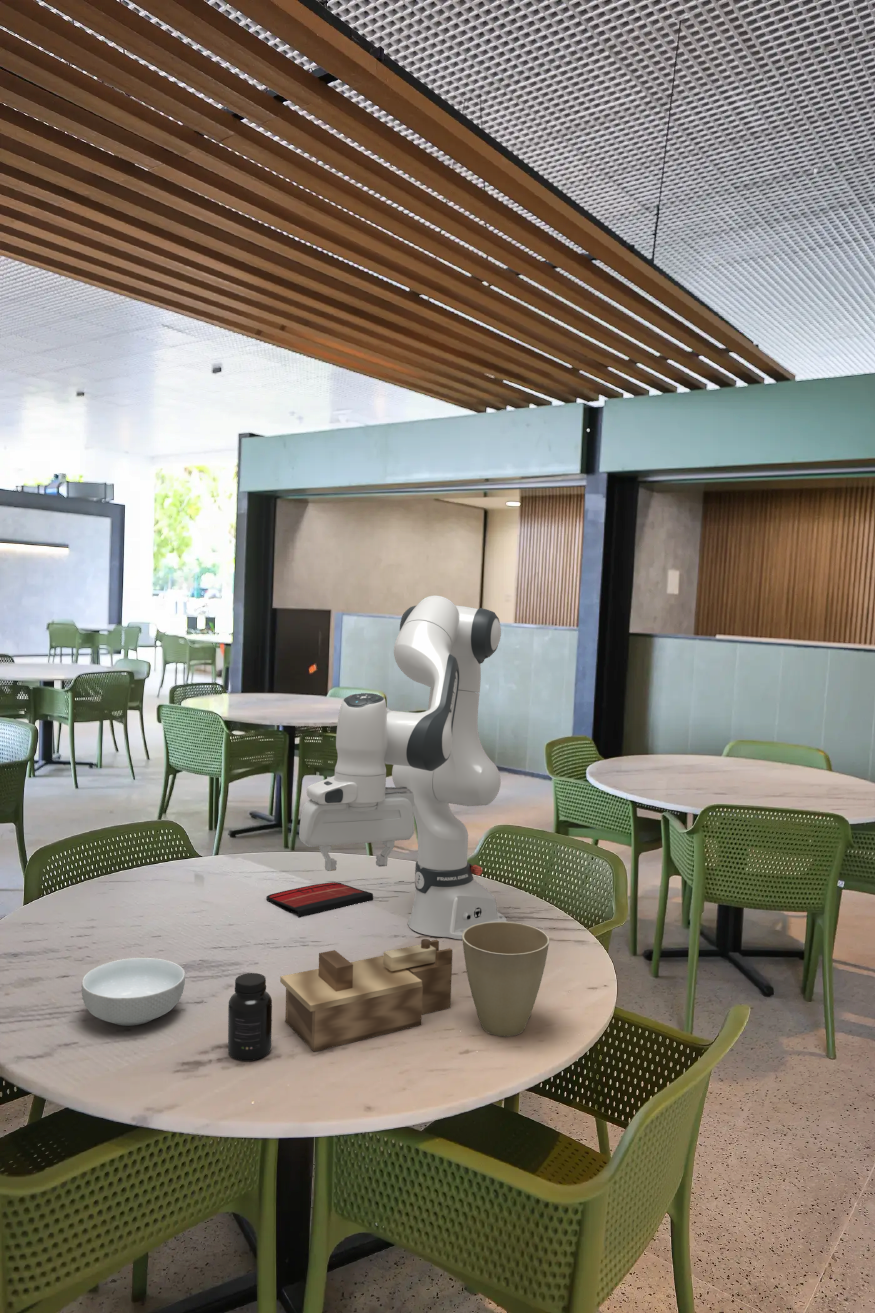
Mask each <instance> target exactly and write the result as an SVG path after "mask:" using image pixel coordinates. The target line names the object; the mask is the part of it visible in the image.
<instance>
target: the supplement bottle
mask: <svg viewBox="0 0 875 1313" xmlns="http://www.w3.org/2000/svg"><path fill="white" fill-rule="evenodd" d="M266 979H267V978H266V977H265V975H263V974H261V973H257V972H256V973H255V972H248V973H243V974H240V975H238V976H237V977H235V980H234V993H233V994H232V995H231V996H230V998H229V1000H228V1009H227V1010H228V1011H227V1012H228V1013H227V1014H228V1016H227V1017H228V1018H227V1049H228V1054H229V1055H230V1057H231V1058H233V1059H236V1060H238V1061H244V1062H246V1061H247V1062H248V1061H249V1062H251V1061H257V1060H260V1059H262V1058H264V1057H266V1056H267V1055H268V1054H269V1053H270V1051H271V1049H272V1028H273V1026H272V1022H273V1018H272V1016H273V1013H272V1012H273V1005H272V1003H273V1000H272V997H271V995H270V993H269V992H267V985H266V984H267V980H266Z"/></svg>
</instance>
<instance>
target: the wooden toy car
mask: <svg viewBox="0 0 875 1313" xmlns="http://www.w3.org/2000/svg"><path fill="white" fill-rule="evenodd" d="M430 941H431V940H430V939H427V938H422V939H421V940H420V944H417V945H412V946H411V945H410V946H406V947H402V948H401V947H400V948H396V949H391V950H386V951H383V955H382V956H383V965H384V966H385V967H386V968H388V969H389V970H390V971H395V970H400V969H405V968H409V967H414V966H419V965H424V964H428V963H433V962H435V960H436V948H434V947H433V946H431V945H430Z"/></svg>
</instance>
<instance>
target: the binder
mask: <svg viewBox="0 0 875 1313" xmlns="http://www.w3.org/2000/svg"><path fill="white" fill-rule="evenodd" d="M265 900H267V901H268V902H269V903H271V904H273V905H274V906H276V907H278V908H279V909H281V910H283V911H285V912H286V913H289V914H292V913H293V912H294V913H298V915H297V916H298V918H299V919H300V918H304V917H308V916H312V915H317V914H320V913H324V912H329V911H334V910H337V909H342V908H345V907H346V906H347V907H350V905H351V906H355V905H358V903H360V904H363V902H364V903H367V901H368V902H372V901H373V900H374V894H373V893H372V892H370V891H366V890H363V889H360V888H355V887H353V886H351V885H348V884H347V885H346V884H344V883H341V882H339V881H338V882H336V881H334V882H333V881H332V882H325V883H317V884H311V885H306V886H301V887H298V888H292V889H287V890H282V891H279V892H276V893H270V894H268V895H267V896H266V899H265ZM354 904H355V905H354Z"/></svg>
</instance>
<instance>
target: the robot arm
mask: <svg viewBox="0 0 875 1313" xmlns="http://www.w3.org/2000/svg"><path fill="white" fill-rule="evenodd" d="M400 618H401V619H400V624H399V632H398V634H397V637H396V639H395V642H394V646H393V657H394V660H395V662H396V665H397V666H398V668H399V670H400V671H401V672H402V673H403V674H404V676H406V677H407V678H409V679H410V680H412V681H414V682H415V683H419V684H421V685H424V686H427V687H429V688H430V689H429V697H428V698H429V699H428V707H427V710H426V711H422V712H410V711H409V712H408V711H400V710H399V711H398V710H394V709H393V710H392V709H391V710H390V709H388V708H387V703H386V699H385V697H384V696H382V695H381V694H377V693H373V692H372V693H371V692H369V693H368V692H361V693H355V694H350V695H348V696H346V697H344V698H343V699H342V701H341V704H340V709H339V713H338V718H337V725H336V726H337V727H336V736H335V748H336V752H337V761H336V764H335V766H334V775H333V776H330V777H328V778H325V779H323V780H321V781H318V782H317V781H316V782H315V783H312V784H310V785H308V786H307V787H306V796H307V798H309V799H308V800H307V801H305V803H304V804H303V806H302V809H301V814H300V820H299V834H298V837H299V840H300V842H302V844H304V845H305V846H307V847H308V848H315V847H319V848H318V850H319V852H320V854H322V857H323V859H324V868H325V871H327V872H334V871H337V864H338V863H337V862H338V861H337V860H336V859H335V858H333V857H332V858H331V855H330V854H329V852H332V846H340V845H341V846H342V845H343V846H344V845H354V844H367V843H368V844H369V843H380V842H381V844H382V845H383V846H384V847H383V848H382V851H381V852H380V854H376V855H375V859H376V860H375V865H376V866H377V867H378V868H381V867H387V866H388V861H389V860H388V859H389V858H388V857H389V856H390V854H391V853H392V852H393V850H394V849H395V841H409V840H411V839H412V837H413V836H414V834H415V824H416V830H417V860H416V862H415V867H414V868H415V870H414V871H415V872H414V885H415V887H414V888H415V893H414V899H413V903H412V910H411V913H410V917H409V920H408V923H407V925H408V927H409V928H410V929H411V930H412V931H415V932H416V933H419V934H423V935H425V936H431V937H440V938H441V937H442V938H451V939H453V940H454V939H455V940H462V934H463V932H464V931H465V930H466V929H467V928H469V927H471V926H473V925H476V924H480V923H486V922H508V920H507V918H506V916H504V914H502V913H501V912H499V911H498V906H497V900H496V898H495V895H494V894H493V893H492V892H491V891H489V889H487V888H486V887H484V885H482V884H481V883H480V882H478V881H477V880H476V879H474V875H475V876H476V877H477V876H481V875H482V874H483V867H481V866H479V865H477V864H473V865H472V864H471V863H470V862H468V850H469V849H468V848H469V833H468V829H467V827H466V825H465V824H464V823H463V822H462V821H461V820H460V819H459V818H458V817H456V815H455V814H454V813H453V811H452V810H451V807H450V805H449V804H452V805H457V806H464V807H482V806H489V805H490V804H492V802H494V801H495V799H496V798H497V796H498V794H499V793H500V790H501V782H502V781H501V775H500V771H499V768H498V767H497V765H496V764H495V762H493V761H492V760H491V759H490V758H489V756H488V754H487V753H486V750H484V747H483V745H482V742H481V739H480V735H479V729H478V718H479V704H480V693H481V681H482V680H481V679H482V678H481V677H482V676H481V675H482V674H481V672H482V671H481V670H482V669H481V664H483V663H484V662H485V660H486V659H488V658H490V657H491V656H492V655H494V654H495V652H496V651H497V649H498V646H499V644H500V641H501V636H502V628H501V623H500V618H499V617H498V616H497V614H496V613H495V612H494V611H493V610H490V609H486V608H483V607H479V608H475V607H469V606H464V605H455V603H454V602H453V601H452V600H450V599H449V598H447V597H445V596H441V595H435V594H434V595H429V596H426V597H425V598H423V599H422V600H420V601H419V602H418V603H417V604H416V605H413V606H410V607H409V608H407V609H406V610H405V611H404V612H403V614H402V616H401V617H400ZM386 765H392V769H391V778H392V782H393V785H394V787H393V786H390V787H389V786H388V787H387V786H386V782H387V768H386Z"/></svg>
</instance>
